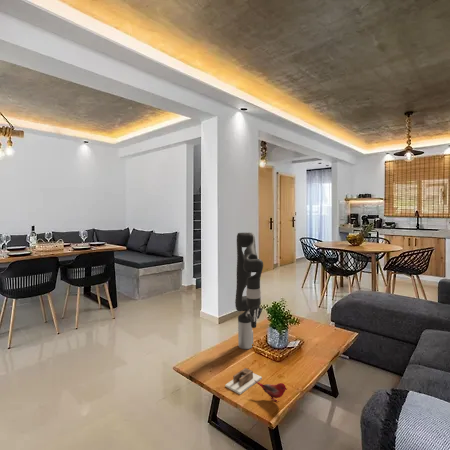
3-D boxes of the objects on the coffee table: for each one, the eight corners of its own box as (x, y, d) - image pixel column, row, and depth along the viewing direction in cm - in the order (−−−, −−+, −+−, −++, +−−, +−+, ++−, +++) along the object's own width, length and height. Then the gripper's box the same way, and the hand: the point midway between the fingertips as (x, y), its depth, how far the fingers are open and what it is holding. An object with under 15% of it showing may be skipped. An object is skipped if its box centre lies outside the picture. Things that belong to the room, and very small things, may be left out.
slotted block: (240, 386, 156) (240, 379, 155) (233, 383, 159) (233, 375, 159) (252, 378, 163) (252, 371, 163) (245, 374, 166) (245, 367, 166)
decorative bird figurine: (285, 407, 141) (285, 386, 140) (252, 393, 152) (252, 374, 151) (288, 404, 143) (288, 383, 143) (255, 390, 154) (255, 371, 153)
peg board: (247, 371, 171) (247, 364, 171) (261, 378, 164) (261, 371, 164) (225, 386, 158) (225, 379, 158) (240, 394, 151) (240, 386, 151)
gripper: (251, 300, 157) (251, 333, 158) (266, 294, 167) (266, 325, 168) (240, 297, 162) (240, 329, 163) (255, 291, 172) (255, 322, 173)
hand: (253, 327), depth 166 cm, fingers closed
